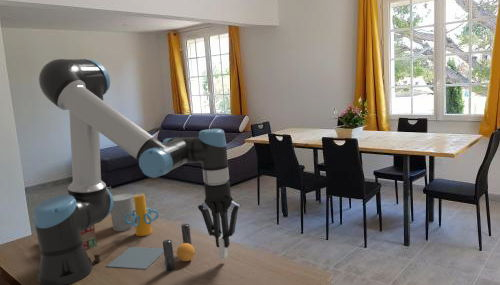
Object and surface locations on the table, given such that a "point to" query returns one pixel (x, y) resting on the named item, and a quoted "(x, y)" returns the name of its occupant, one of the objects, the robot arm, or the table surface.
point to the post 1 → (168, 255)
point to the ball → (185, 252)
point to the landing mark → (137, 258)
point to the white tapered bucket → (122, 211)
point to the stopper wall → (105, 252)
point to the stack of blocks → (89, 237)
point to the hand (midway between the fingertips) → (224, 256)
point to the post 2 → (186, 233)
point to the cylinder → (141, 216)
